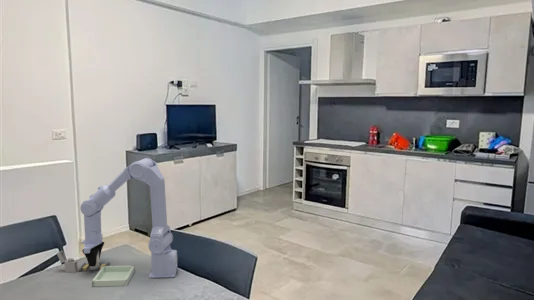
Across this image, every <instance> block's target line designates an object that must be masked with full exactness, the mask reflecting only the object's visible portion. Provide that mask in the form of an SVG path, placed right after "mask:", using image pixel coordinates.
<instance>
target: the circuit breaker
mask: <svg viewBox="0 0 534 300" xmlns="http://www.w3.org/2000/svg"><path fill="white" fill-rule="evenodd" d="M56 255H57V257H58V259H59V262H60V263H61V264H63V263H64V272H65V273H71V274H76V273H77V272H78V270H79V268H78V260H75V259H74V258H67V256H66V255H65V253H64V251H63V250H60V251H58V252H57V253H56Z"/></svg>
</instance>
